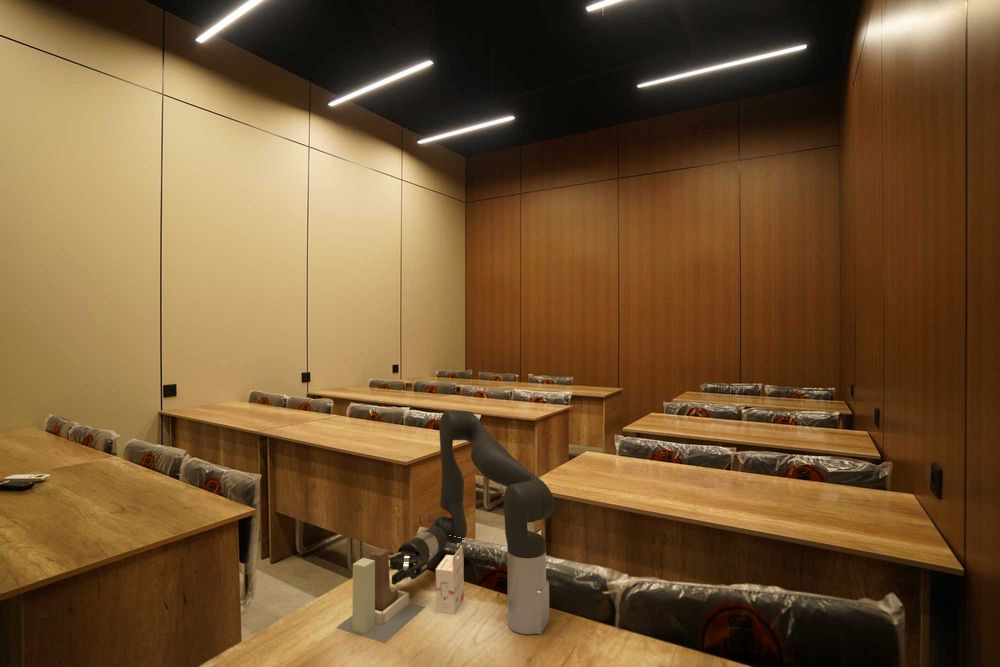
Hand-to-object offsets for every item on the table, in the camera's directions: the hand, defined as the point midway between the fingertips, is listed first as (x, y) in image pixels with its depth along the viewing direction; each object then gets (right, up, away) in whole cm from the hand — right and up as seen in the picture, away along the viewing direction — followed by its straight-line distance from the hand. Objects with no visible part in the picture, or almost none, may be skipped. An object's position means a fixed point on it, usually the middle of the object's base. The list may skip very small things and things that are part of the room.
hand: (380, 577), depth 115 cm
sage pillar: (-2, -9, -6) cm, 11 cm away
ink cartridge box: (+16, -10, +4) cm, 20 cm away
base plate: (+1, -10, -1) cm, 10 cm away
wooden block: (+1, -9, +2) cm, 9 cm away
